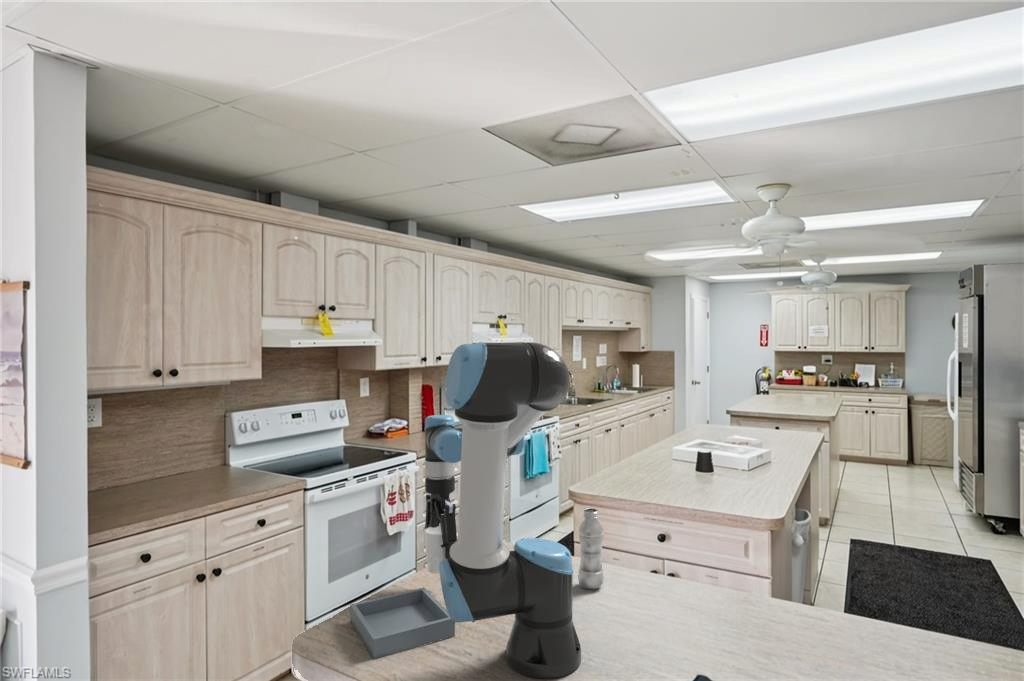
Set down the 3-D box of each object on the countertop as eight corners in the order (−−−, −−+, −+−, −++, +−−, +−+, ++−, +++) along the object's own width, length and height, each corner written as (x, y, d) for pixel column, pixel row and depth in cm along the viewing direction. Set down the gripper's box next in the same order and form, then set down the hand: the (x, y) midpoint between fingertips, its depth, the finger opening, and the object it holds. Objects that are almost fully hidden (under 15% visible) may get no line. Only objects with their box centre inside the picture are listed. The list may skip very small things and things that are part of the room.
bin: (454, 636, 128) (454, 617, 128) (373, 659, 119) (373, 639, 119) (424, 603, 144) (424, 587, 144) (350, 621, 135) (350, 604, 135)
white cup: (458, 563, 153) (458, 525, 154) (452, 575, 146) (452, 534, 146) (429, 563, 154) (428, 524, 154) (421, 574, 146) (421, 534, 146)
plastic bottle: (573, 584, 155) (573, 508, 154) (595, 580, 157) (595, 505, 157) (586, 594, 149) (586, 515, 149) (608, 589, 152) (608, 512, 151)
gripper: (470, 482, 143) (471, 576, 143) (438, 467, 161) (438, 551, 161) (442, 486, 139) (443, 583, 139) (411, 470, 157) (412, 556, 157)
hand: (440, 566), depth 150 cm, fingers closed on white cup, 7 cm apart
